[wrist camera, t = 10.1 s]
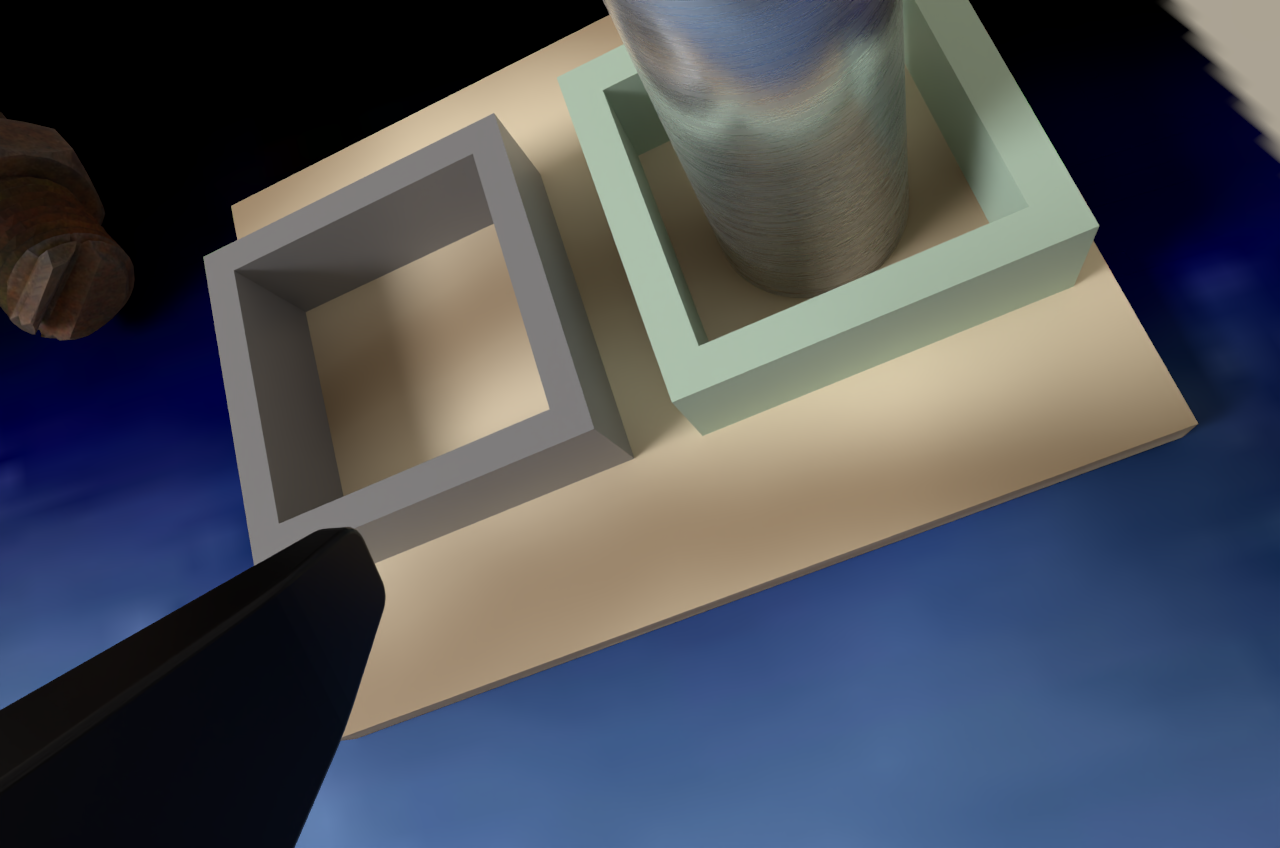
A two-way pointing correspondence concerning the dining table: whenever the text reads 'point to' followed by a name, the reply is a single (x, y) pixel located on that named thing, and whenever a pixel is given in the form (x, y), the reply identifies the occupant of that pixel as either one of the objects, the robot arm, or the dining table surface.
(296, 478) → the holder
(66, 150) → the bolt
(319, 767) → the robot arm
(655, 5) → the silver tall tapered cylinder
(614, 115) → the socket
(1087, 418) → the dock board
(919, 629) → the dining table surface
